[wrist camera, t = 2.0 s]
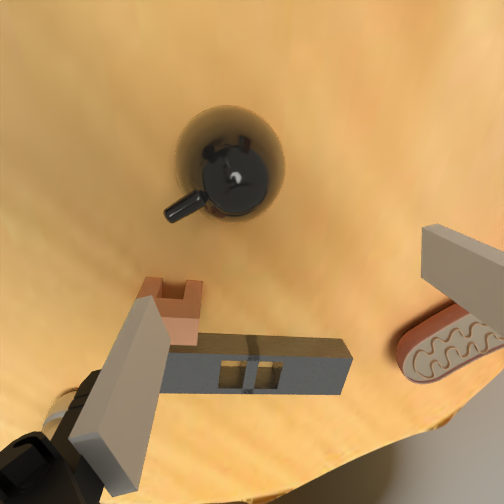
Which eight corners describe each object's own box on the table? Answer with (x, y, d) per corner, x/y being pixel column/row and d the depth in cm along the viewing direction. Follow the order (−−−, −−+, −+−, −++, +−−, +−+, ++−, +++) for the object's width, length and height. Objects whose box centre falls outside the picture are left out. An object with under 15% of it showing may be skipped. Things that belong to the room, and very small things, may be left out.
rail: (149, 369, 42) (143, 393, 38) (149, 330, 39) (142, 351, 36) (330, 373, 46) (340, 394, 43) (341, 338, 44) (353, 358, 40)
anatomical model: (393, 368, 48) (412, 393, 43) (375, 327, 44) (393, 350, 39) (527, 303, 45) (562, 323, 41) (520, 254, 41) (558, 270, 37)
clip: (146, 301, 37) (128, 343, 30) (146, 277, 36) (128, 315, 29) (200, 304, 38) (196, 345, 31) (202, 281, 37) (199, 318, 30)
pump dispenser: (159, 137, 30) (110, 146, 16) (249, 89, 29) (278, 55, 15) (208, 221, 34) (202, 285, 20) (287, 181, 33) (338, 219, 19)
